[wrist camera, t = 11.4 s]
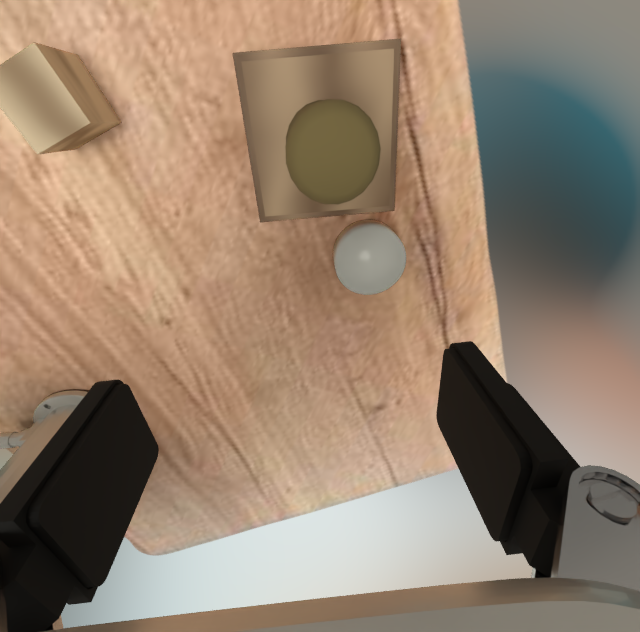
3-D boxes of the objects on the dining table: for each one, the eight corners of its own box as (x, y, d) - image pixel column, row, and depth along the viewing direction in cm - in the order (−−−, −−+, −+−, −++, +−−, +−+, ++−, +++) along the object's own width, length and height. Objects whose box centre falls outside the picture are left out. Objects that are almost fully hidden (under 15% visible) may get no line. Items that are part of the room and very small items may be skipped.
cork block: (75, 149, 29) (37, 154, 25) (29, 86, 27) (-23, 80, 23) (122, 122, 29) (90, 123, 24) (78, 55, 26) (34, 42, 22)
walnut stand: (263, 213, 33) (259, 224, 29) (240, 60, 27) (230, 51, 23) (386, 202, 33) (395, 212, 29) (390, 47, 27) (403, 36, 23)
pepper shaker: (377, 146, 27) (418, 160, 17) (322, 201, 29) (331, 240, 19) (325, 78, 24) (339, 51, 15) (269, 143, 26) (250, 156, 17)
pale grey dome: (334, 285, 37) (336, 297, 35) (330, 222, 34) (333, 230, 31) (397, 279, 37) (404, 291, 35) (400, 216, 34) (408, 224, 31)
